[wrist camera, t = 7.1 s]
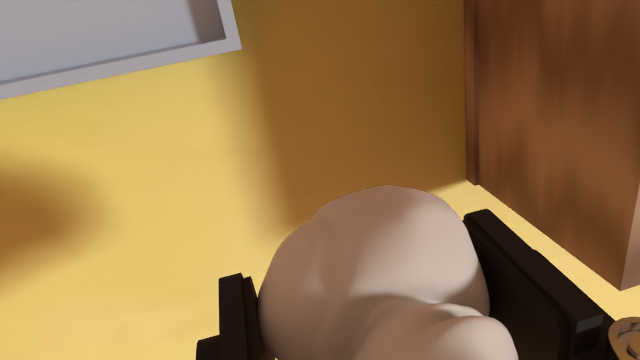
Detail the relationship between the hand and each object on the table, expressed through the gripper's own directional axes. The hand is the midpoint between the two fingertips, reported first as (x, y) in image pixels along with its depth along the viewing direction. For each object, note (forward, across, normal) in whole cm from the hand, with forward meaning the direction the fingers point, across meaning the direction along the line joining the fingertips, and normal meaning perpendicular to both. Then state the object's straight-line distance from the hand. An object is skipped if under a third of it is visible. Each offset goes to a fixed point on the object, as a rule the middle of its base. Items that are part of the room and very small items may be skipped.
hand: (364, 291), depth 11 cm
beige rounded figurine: (+2, 0, 0) cm, 2 cm away
